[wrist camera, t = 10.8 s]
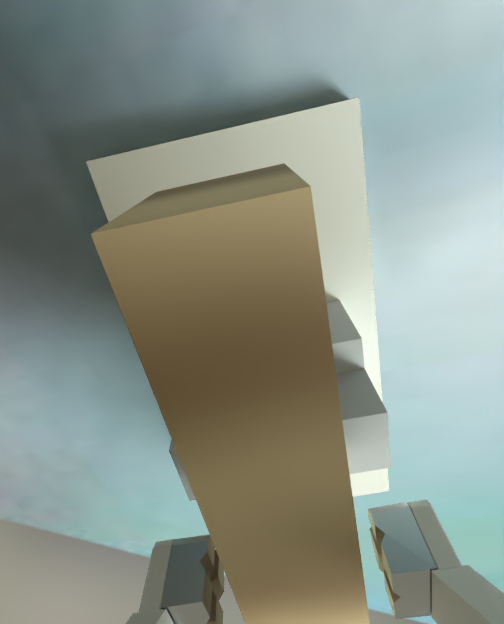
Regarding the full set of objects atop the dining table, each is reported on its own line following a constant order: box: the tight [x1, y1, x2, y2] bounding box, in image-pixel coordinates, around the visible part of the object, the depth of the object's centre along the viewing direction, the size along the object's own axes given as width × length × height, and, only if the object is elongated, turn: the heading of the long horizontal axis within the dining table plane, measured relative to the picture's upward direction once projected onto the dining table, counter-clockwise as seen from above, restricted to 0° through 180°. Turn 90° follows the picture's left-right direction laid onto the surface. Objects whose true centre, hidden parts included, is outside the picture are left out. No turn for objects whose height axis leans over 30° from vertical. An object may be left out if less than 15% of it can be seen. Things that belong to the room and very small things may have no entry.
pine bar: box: [91, 163, 370, 624], centre depth 11 cm, size 18×3×4 cm, turn 12°
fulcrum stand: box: [86, 97, 391, 501], centre depth 16 cm, size 20×10×7 cm, turn 12°
